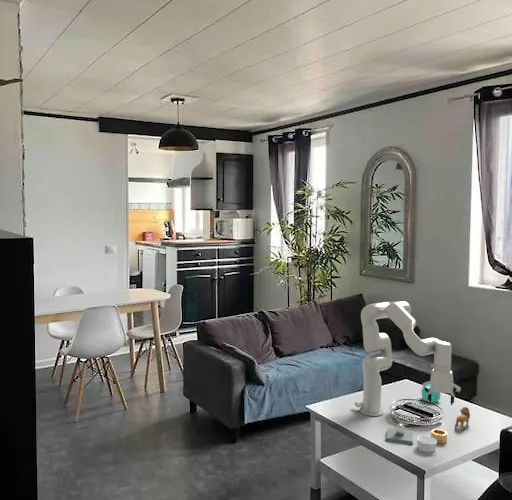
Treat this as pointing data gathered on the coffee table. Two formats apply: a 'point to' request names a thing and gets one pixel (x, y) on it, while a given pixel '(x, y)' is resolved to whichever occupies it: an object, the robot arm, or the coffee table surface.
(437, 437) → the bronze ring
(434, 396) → the decorative dice
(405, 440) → the stand base
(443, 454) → the coffee table surface
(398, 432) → the steel post
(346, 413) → the coffee table surface
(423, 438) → the ramekin
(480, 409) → the coffee table surface
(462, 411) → the lion figurine
